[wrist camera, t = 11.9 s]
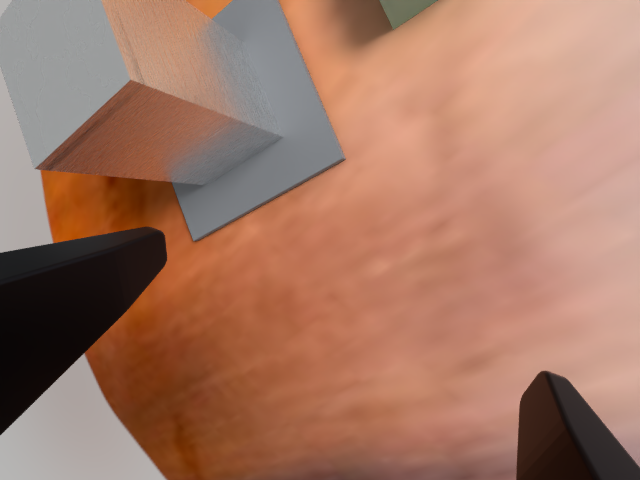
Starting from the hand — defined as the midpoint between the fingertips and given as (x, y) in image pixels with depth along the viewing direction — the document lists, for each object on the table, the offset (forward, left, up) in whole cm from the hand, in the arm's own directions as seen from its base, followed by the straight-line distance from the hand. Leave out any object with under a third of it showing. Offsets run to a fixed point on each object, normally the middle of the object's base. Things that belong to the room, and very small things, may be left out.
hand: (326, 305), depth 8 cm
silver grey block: (+1, +14, -11) cm, 18 cm away
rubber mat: (+1, +14, -12) cm, 18 cm away
